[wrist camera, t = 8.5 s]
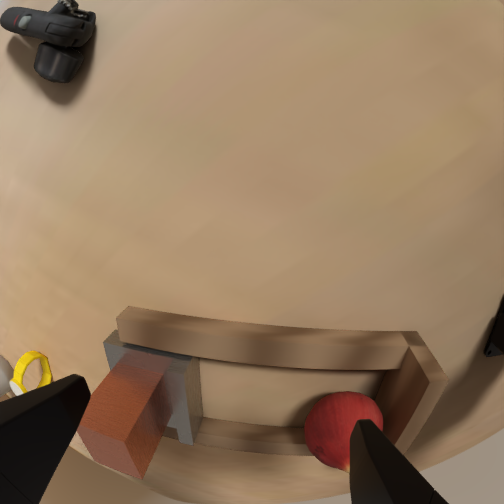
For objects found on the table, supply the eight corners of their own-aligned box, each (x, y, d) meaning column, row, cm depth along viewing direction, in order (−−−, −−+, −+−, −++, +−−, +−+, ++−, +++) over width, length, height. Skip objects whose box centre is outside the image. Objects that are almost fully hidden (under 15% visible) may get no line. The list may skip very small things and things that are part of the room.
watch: (35, 340, 24) (2, 363, 18) (51, 349, 24) (18, 375, 18) (43, 378, 26) (15, 403, 20) (58, 388, 25) (31, 414, 20)
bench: (416, 331, 18) (449, 379, 13) (370, 438, 22) (379, 485, 16) (128, 306, 20) (85, 346, 15) (151, 417, 24) (128, 459, 18)
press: (198, 345, 20) (153, 436, 12) (203, 417, 23) (175, 496, 14) (115, 329, 21) (51, 397, 12) (132, 400, 23) (91, 466, 15)
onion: (339, 424, 22) (348, 496, 14) (289, 403, 21) (286, 482, 14) (385, 385, 20) (410, 458, 12) (335, 358, 20) (352, 442, 12)
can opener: (126, 23, 15) (87, -6, 9) (75, 96, 17) (25, 85, 11) (40, -7, 13) (10, -21, 8) (6, 44, 15) (-27, 37, 10)
